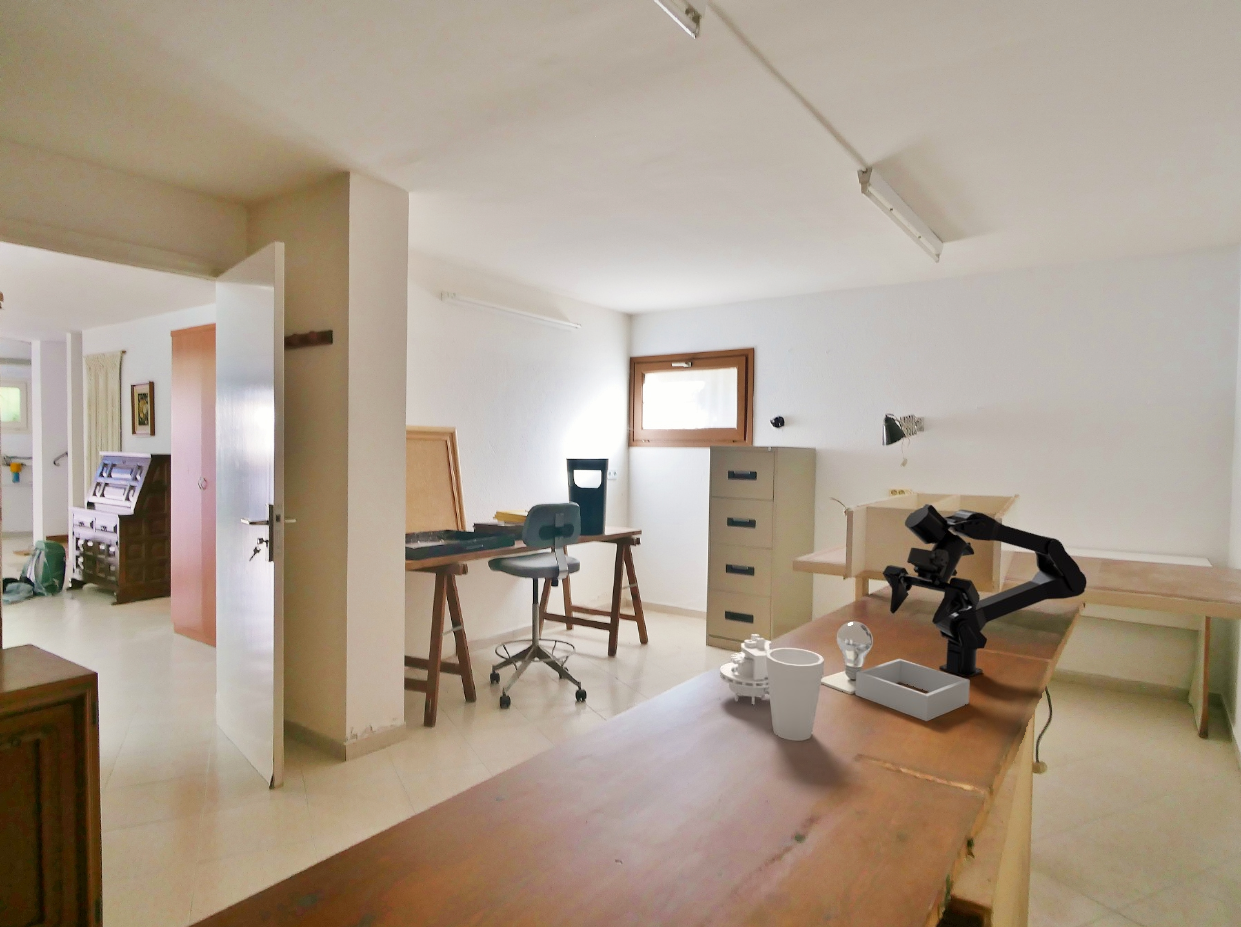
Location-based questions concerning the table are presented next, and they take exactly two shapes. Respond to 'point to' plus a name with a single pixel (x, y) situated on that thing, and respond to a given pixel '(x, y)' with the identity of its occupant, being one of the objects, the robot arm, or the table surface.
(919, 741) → the table surface
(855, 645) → the light bulb
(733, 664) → the mechanical part
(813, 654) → the foam cup
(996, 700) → the table surface
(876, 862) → the table surface
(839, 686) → the cream board
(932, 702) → the grey box
